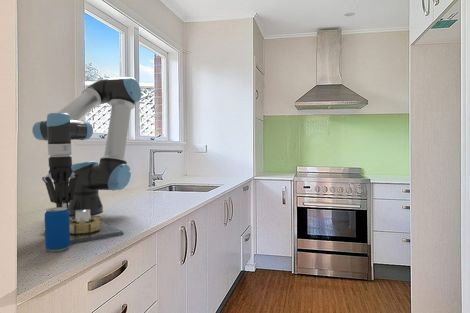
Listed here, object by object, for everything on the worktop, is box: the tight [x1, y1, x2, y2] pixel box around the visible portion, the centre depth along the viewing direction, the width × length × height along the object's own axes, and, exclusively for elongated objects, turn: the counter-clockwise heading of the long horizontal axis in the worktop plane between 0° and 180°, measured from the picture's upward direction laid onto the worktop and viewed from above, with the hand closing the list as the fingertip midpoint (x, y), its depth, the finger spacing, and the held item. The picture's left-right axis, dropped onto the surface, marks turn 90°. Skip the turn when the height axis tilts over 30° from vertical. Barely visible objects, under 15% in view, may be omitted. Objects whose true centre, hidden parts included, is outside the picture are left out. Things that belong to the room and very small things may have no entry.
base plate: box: [70, 209, 124, 245], centre depth 120 cm, size 20×20×8 cm
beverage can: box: [44, 207, 71, 253], centre depth 103 cm, size 6×6×12 cm
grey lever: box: [69, 215, 101, 234], centre depth 123 cm, size 22×11×4 cm, turn 66°
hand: (63, 220), depth 127 cm, fingers closed
